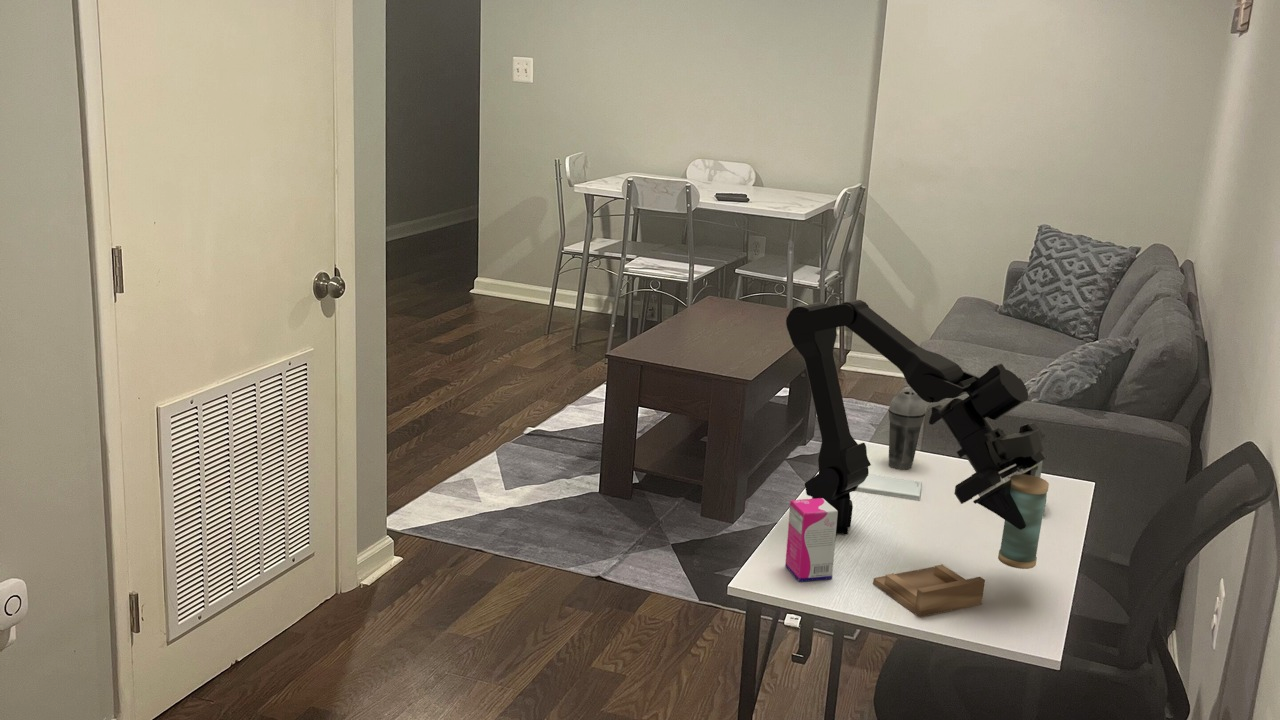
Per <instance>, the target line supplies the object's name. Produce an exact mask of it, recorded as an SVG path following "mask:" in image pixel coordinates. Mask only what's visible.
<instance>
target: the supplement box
mask: <svg viewBox="0 0 1280 720" xmlns="http://www.w3.org/2000/svg"><path fill="white" fill-rule="evenodd" d="M789 502H790V503H789V515H788V527H787V528H788V529H787V539H786V554H785V567H786V568H787V569H788V571H789V572H790V574H792V575H793V576H794V578H795V579H796V580H797V581H798V582H801V583H802V582H810V581H811V582H812V581H813V582H814V581H823V580H833V572H834V571H833V570H834V562H835V560H834V559H835V549H836V548H835V547H836V536H837V534H836V526H837V515H838V511H837V510H836V509H835V508H834V507H832V506H831V505H830V504H829V503H828V502H827V501H826V500H824V499H823V498H817V499H812V498H809V499H808V498H806V499H792V500H790V501H789Z"/></svg>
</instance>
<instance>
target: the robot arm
mask: <svg viewBox="0 0 1280 720" xmlns="http://www.w3.org/2000/svg"><path fill="white" fill-rule="evenodd" d="M785 325H786V330H787V332H788V335H789V338H790V340H791V343H792V345H793V347H794V348H795V349H796V351H797V352H798V353H799V354H800V356H801V357H802V358H803V361H804V365H805V369H806V372H807V373H806V374H807V378H808V382H809V386H810V392H811V397H812V400H813V405H814V409H815V414H816V419H817V420H816V421H817V424H818V427H819V432H820V433H819V434H820V438H821V445H820V449H819V452H818V457H817V464H818V465H817V468H818V473H817V474H815V476H813V477H811V478H810V479H808V480H807V481H805V482H804V488H805V489H804V490H805V493H806V495H807V496H809V497H811V499H817V498H823V499H824V500H826V501H827V502H828V503H829V504H830V505H831V506H832V507H834V508H835V509H836V510H837V511H838V515H837V526H836V535H838V534H839V535H849V528H850V527H851V525H852V519H853V518H852V517H853V516H852V515H853V508H854V506H853V501H852V500H851V495H850V493H852V492H857V491H856V489H857V487H858V486H859V484H861V483H863V482H864V481H865V479H866V477H867V476H868V474H870V473H869V467H870V466H872V465H871V462H870V460H869V457H868V453H867V451H868V450H867V444H866V443H865V442H861V443H858V442H857V441H856V440H855V439H854V437H853V436H852V434H851V432H850V427H849V423H848V417H847V412H846V408H845V404H844V399H843V394H842V389H841V385H840V384H841V383H840V381H839V377H838V371H837V366H836V361H835V359H834V358H835V356H834V349H835V344H836V341H837V336H838V334H837V330H838V329H837V328H840V327H846V328H848V329H849V330H850V331H852V332H853V333H854V334H855V335H856V336H858V337H859V338H860V339H861V340H863V342H864V341H865V343H867V344H868V345H869V346H870V347H872V348H873V349H874V350H875V351H877V352H878V354H880V355H882V356H883V357H884V358H886V359H887V360H888V361H889V362H891V364H893V365H894V366H895V367H896V368H897V369H899V371H900V372H901V373H902V375H903V377H904V379H905V382H906V384H907V385H908V386H909V387H910V388H912V389H913V391H914V393H915V394H917V395H918V396H919V397H920V398H921V399H922V401H923V402H926V403H930V404H931V403H939V402H941V401H944V400H946V399H951V400H950V401H949V402H947V403H945V404H944V405H940V404H937V405H935V406H932V407H931V414H930V417H929V420H928V424H929V425H934V424H937V423H940V422H943V423H944V425H945V426H946V428H947V430H948V431H949V433H950V435H952V437H953V439H954V440H955V441H956V443H957V445H958V447H959V448H960V449H959V450H957V451H956V454H957V455H958V457H959V459H960V458H963V457H965V458H966V459H967V460H968V462H969V464H970V466H971V467H972V469H973V470H974V473H973V474H971V476H969V477H967V478H966V479H964V480H962V481H961V482H959V483H957V484H956V485H955V488H954V495H955V496H956V499H957V500H958V502H959V503H960V504H961V505H962V504H965V503H967V502H969V501H970V500H972V499H973V498H975V497H976V496H979V497H977V498H976V499H974V500H973V503H974V504H978V505H980V506H981V507H983V508H985V509H986V510H989V511H990V512H992V513H994V514H995V515H997V516H998V517H1000V518H1001V519H1002V520H1004V521H1005V520H1006V521H1007V522H1009V523H1010V524H1012V525H1013V526H1015V527H1016V528H1018V529H1020V530H1022V529H1024V528H1025V527H1026V524H1025V521H1024V519H1023V517H1022V515H1021V513H1020V511H1019V509H1018V507H1017V506H1016V504H1015V502H1014V500H1013V498H1012V496H1011V494H1010V489H1011V480H1010V477H1011V476H1013V475H1018V474H1024V475H1032V476H1035V473H1036V471H1037V470H1038V466H1036V467H1034V468H1032V469H1030V468H1031V467H1033V466H1034V465H1036V464H1038V463H1039V462H1041V461H1044V460H1046V458H1045V457H1044V454H1043V453H1042V452H1044V451H1045V449H1044V443H1043V440H1044V439H1046V436H1045V433H1043V432H1042V431H1041V429H1040V428H1039V427H1038V426H1037V425H1036V423H1034V422H1030V423H1025V424H1023V425H1021V426H1020V427H1019V431H1018V432H1015V433H1012V434H1007V435H1006V433H1005V431H1004V430H1003V429H1001V428H999V427H998V428H996V429H994V428H993V426H992V425H991V423H990V422H989V420H988V419H990V420H993V421H994V420H995V421H996V420H999V419H1001V418H1002V417H1004V416H1005V415H1006V414H1008V413H1010V412H1011V411H1012V410H1014V409H1016V408H1017V407H1019V406H1021V405H1022V404H1023V403H1025V402H1027V401H1028V399H1029V392H1028V389H1027V387H1026V384H1025V383H1024V381H1023V380H1022V379H1021V378H1019V377H1018V376H1017V375H1016V374H1015V373H1014V372H1012V371H1011V370H1008V369H1006V367H1005V366H1004V365H1003V363H998V364H996V365H994V366H992V367H991V368H989V369H988V370H987V372H985V373H984V374H982V376H978V375H974V374H972V373H969V372H967V371H964V370H963V368H962V367H961V366H960V365H959V364H958V363H956V362H954V361H952V360H951V359H950V358H947V357H945V356H943V355H942V354H939V353H936V352H933V351H930V350H927V349H925V348H923V347H920V345H918V344H917V343H915V342H914V341H913V340H911V339H910V338H909V337H908V336H907V335H905V334H903V332H901V331H900V330H899V329H897V328H896V327H894V326H893V325H892V324H891V323H890V322H889V321H887V320H885V318H883V317H882V316H881V315H879V314H878V313H877V312H875V311H874V310H873V309H871V308H870V307H869V304H868V303H866V301H864V300H862V299H854V300H849V301H844V302H843V303H840V304H839V303H838V304H835V305H828V304H827V303H824V302H822V301H821V302H818V301H817V302H814V303H813V302H812V303H808V304H804V305H800V306H796V307H793V308H792V309H791V310H790V311H789V312H788V315H787V316H786V319H785ZM966 394H967V395H968V396H967V397H966V398H964V399H961V398H958V397H960V396H963V395H966ZM987 418H988V419H987ZM1003 479H1004V480H1005V483H1004V481H1003Z"/></svg>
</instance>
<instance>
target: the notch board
mask: <svg viewBox="0 0 1280 720" xmlns="http://www.w3.org/2000/svg"><path fill="white" fill-rule="evenodd" d="M872 584H873V585H874V586H875V587H876V588H878V589H880V590H881V591H882V592H884V593H885V594H886V595H888V596H889V597H891V598H892V599H893V600H895V601H897V602H898V603H899V604H901V606H903V607H905V608H906V609H907V610H909V611H910V612H911V613H913V614H914V615H915V616H917V617H918V618H922V617H927V616H932V615H937V614H942V613H946V612H947V613H948V612H951V611H955V610H960V609H966V608H971V607H976V606H979V605H983V599H984V592H985V585H986V579H984V578H983V577H982V576H976V577H971V578H964V577H963V576H961V575H960V574H958V573H957V572H955V571H953V570H952V569H951V568H949V567H947V566H945V565H944V564H937V565H934V566H931V567H925V568H920V569H914V570H910V571H904V572H898V573H894V572H893V573H888V574H885V575H884V576H878V577H873V582H872Z"/></svg>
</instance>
